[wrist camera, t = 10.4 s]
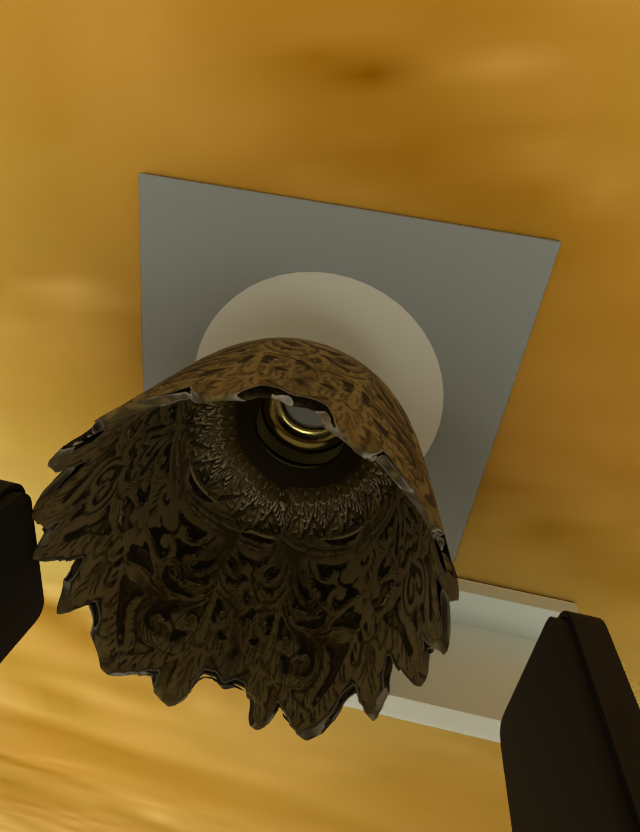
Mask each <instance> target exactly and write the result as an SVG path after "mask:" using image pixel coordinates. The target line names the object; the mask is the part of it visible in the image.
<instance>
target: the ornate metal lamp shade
mask: <svg viewBox="0 0 640 832" xmlns="http://www.w3.org/2000/svg"><path fill="white" fill-rule="evenodd" d="M285 404H286V405H288V406H291V407H298V408H305V409H309V410H311V411H313V412H316V414H318V415H319V417H320V418H321V419H322V421H321V422H322V423H323V424H324V425H325V426H323V427H319V428H308V427H304V426H302V425H299V424H298V423H296V422H295V421H294V420H293V419H292V418H291V417H290V416H289V415H288V413H287V411H286V408H285ZM48 466H49V467H50V468H52V469H53V470H54V471H55V472H61V471H62V472H61V473H60V474H59V475H58V476H57V477H56V478H55V479H54V480H53V482H52V483H51V484H50V485H49V486H48V487H47V488H46V489H45V490H44V491H43V492H42V494H41V495H40V497H39V499H38V501H37V502H36V504H35V506H34V509H33V512H32V520H35V521H36V522H37V524H41V525H42V526H43V529H42V530H43V531H44V534H43V536H42V538H41V540H40V542H39V543H38V545H37V547H36V549H35V551H34V554H33V556H32V558H33V560H35V561H44V562H47V561H55V560H59V561H63V560H66V562H67V561H72V560H75V561H74V563H73V565H72V566H71V569H70V572H69V573H68V575H67V576H66V578H64V580H63V588H62V593H61V596H60V599H59V602H58V606H57V614H64V613H68V612H71V611H73V610H75V609H78V608H81V607H83V606H86V605H89V608H90V610H91V613H92V617H93V625H92V629H91V633H90V634H91V637H92V640H93V642H94V645H95V648H96V650H97V654H98V657H99V662H100V667H101V669H102V670H103V671H104V672H105V673H106V674H108V675H111V676H125V675H136V674H138V675H139V676H142V675H147V676H152V677H151V678H152V682H153V688H154V693H155V694H156V695H157V696H158V698H159V699H160V700H161V701H162V702H164V703H165V704H166V705H167V706H174V705H176V704H178V703H180V702H182V701H183V700H184V699H185V698H186V697H187V696H188V694H189V693H190V692H191V690H192V688H193V687H194V685H195V684H196V683H197V682H198V681H199V680H201V679H203V678H210V679H213V680H214V681H215V682H218V684H219V685H220V686H221V688H223V689H230V688H234V687H236V688H238V689H240V690H243V689H241V688H240V687H238V686H236V685H234V684H237V685H239V686H241V687H244V688H245V689H246V695H247V698H248V699H250V710H249V724H250V726H251V727H252V728H254V729H255V730H260V729H262V728H263V727H265V726H266V725H268V724H269V723H270V721H271V720H272V719H273V717H274V715H275V714H276V713H277V711H278V708H279V707H280V708H281V709H282V710H283V711H284V713H285V715H286V716H285V715H284V714H283V717H284V718H285V719H286V720H287V721H288V722H289V723H290V724H289V725H290V726H291V727H292V728H293V729H294V730H295V732H296V734H297V735H298V736H300V737H301V738H303V739H304V740H310V739H312V738H314V737H316V736H318V735H320V734H322V733H323V732H324V731H325V730H326V729H327V728H328V727H329V726H330V724H331V723H332V722H333V721H334V720H335V719H336V717H337V716H338V714H339V713H340V711H341V709H342V707H343V705H344V703H345V702H346V701H347V700H348V698H350V697H351V696H353V695H354V694H357V697H358V702H359V703H360V704H361V705H362V707H363V710H364V712H365V713H366V714H367V715H368V716H369V717H370V718H371V719H372V720H373V721H374V720H375V719H376V718H377V717H378V715H379V713H380V711H381V710H382V708H383V705H384V702H385V700H386V698H387V697H388V695H389V693H390V677H391V672H392V669H393V663H394V665H395V668H396V669H397V670H398V671H400V670H402V672H403V674H404V675H405V676H406V677H407V678H408V679H409V681H410V682H411V683H412V684H413V685H415V686H418V687H420V686H422V685H423V683H424V682H425V681H426V678H427V675H428V671H429V659H430V654H431V653H433V652H434V649H436V650H438V651H440V652H441V653H442V654H443V655H445V653H446V652H447V650H448V647H449V642H450V632H451V619H450V602H452V601H458V600H459V585H458V579H457V575H456V572H455V569H454V566H453V563H452V560H451V557H450V553H449V549H448V545H447V541H446V537H445V534H444V530H443V526H442V522H441V518H440V514H439V510H438V507H437V503H436V499H435V495H434V492H433V488H432V484H431V481H430V477H429V474H428V470H427V467H426V463H425V460H424V457H423V453H422V450H421V447H420V444H419V441H418V438H417V436H416V434H415V432H414V429H413V427H412V425H411V423H410V420H409V418H408V416H407V414H406V413H405V411H404V409H403V408H402V406H401V404H400V403H399V401H398V400H397V398H396V397H395V396H394V394H393V393H392V392H391V390H390V389H389V388H388V387H387V385H386V384H385V383H384V382H383V381H382V380H381V379H380V378H379V377H378V376H377V375H376V374H375V373H374V372H372V371H371V370H370V369H369V368H368V367H366V366H365V365H364V364H362V363H361V362H359V361H358V360H356V359H355V358H353V357H351V356H349V355H348V354H346V353H344V352H342V351H340V350H338V349H335V348H332V347H330V346H327V345H325V344H321V343H317V342H314V341H310V340H304V339H298V338H284V337H278V338H264V339H258V340H253V341H247V342H242V343H239V344H236V345H232V346H229V347H227V348H224V349H221V350H219V351H217V352H214V353H212V354H210V355H208V356H205V357H203V358H201V359H200V360H198V361H196V362H194V363H192V364H190V365H189V366H187V367H185V368H183V369H182V370H180V371H178V372H176V373H175V374H173V375H171V376H170V377H168V378H166V379H165V380H163V381H161V382H160V383H158V384H156V385H155V386H153V387H151V388H150V389H148V390H146V391H145V392H143V393H142V394H140V395H138V396H137V397H135V398H133V399H132V400H130V401H128V402H127V403H125V404H124V405H122V406H120V407H118V408H116V409H114V410H112V411H110V412H108V413H107V414H105V415H103V416H101V417H100V418H98V419H97V420H95V424H94V425H93V427H92V428H91V429H90V430H88V431H87V432H85V433H84V434H83V435H81V436H79V437H78V438H76V439H74V440H72V441H71V442H69V443H68V444H67V445H65V446H63V447H62V448H61V449H60V450H59V451H58V452H57V453H56V454H55V455H54V456H53V457H52V458H51V459H50V460H49V462H48ZM449 601H450V602H449ZM203 674H206V675H209V676H212V677H215V678H216V679H215V678H212V677H202V678H200V677H201V676H202V675H203ZM199 678H200V679H199ZM243 691H244V690H243ZM286 717H287V718H286Z"/></svg>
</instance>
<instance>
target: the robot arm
mask: <svg viewBox="0 0 640 832" xmlns="http://www.w3.org/2000/svg"><path fill="white" fill-rule="evenodd" d="M32 512H33V509H32V501H31V498H30V496H29V495H27V494H26V493H25V490H24V488H23V487H22V485H20V484H17V483H13V482H8V481H4V480H0V663H1V662H2V660H3V659H4V658H5V657H6V656H7V655H8V653H9V652H10V651H11V650H12V649H13V648H14V646H15V645H16V644H17V643H18V642H19V641H20V639H21V638H22V637H23V636H24V635H25V634H26V632H27V631H28V630H29V629H30V628H31V627H32V625H33V624H34V623H35V622H36V620H37V619H38V618H39V616H40V614H41V612H42V609H43V605H44V596H43V588H42V580H41V572H40V564H39V561H35V560H33V558H32V556H33V554H34V551H35V549H36V547H37V540H36V533H35V525H34V520H32ZM500 744H501V751H502V758H503V766H504V773H505V780H506V788H507V795H508V803H509V810H510V817H511V825H512V832H640V709H639V706H638V704H637V701H636V699H635V696H634V694H633V691H632V689H631V686H630V684H629V681H628V679H627V676H626V674H625V671H624V669H623V666H622V664H621V661H620V659H619V656H618V654H617V651H616V649H615V646H614V644H613V641H612V639H611V636H610V634H609V631H608V629H607V627H606V625H605V623H604V621H603V620H601V619H600V618H596V617H592V616H588V615H583V614H579V613H575V612H570V611H562V612H561V613H560V614H559V616H558V618H557V617H551V616H550V617H549V618H548V619H547V621H546V623H545V625H544V627H543V629H542V631H541V634H540V636H539V638H538V640H537V642H536V644H535V647H534V649H533V651H532V653H531V655H530V657H529V660H528V662H527V664H526V666H525V668H524V670H523V673H522V675H521V677H520V679H519V681H518V684H517V686H516V688H515V690H514V692H513V694H512V697H511V699H510V701H509V703H508V705H507V707H506V710H505V712H504V714H503V716H502V719H501V724H500Z"/></svg>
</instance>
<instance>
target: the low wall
mask: <svg viewBox="0 0 640 832" xmlns="http://www.w3.org/2000/svg"><path fill="white" fill-rule="evenodd" d="M457 579H458V585H459V600H458V601H452V602H450V601H449V602H450V619H451V632H450V642H449V647H448V650H447V652H446V653H445V655H443V654H442V653H441V652H440V651H438V650H436V649H434V652H433V653H431V654H430V659H429V671H428V675H427V678H426V681H425V682H424V683H423V685H422V686H420V687H418V686H415V685H413V684H412V683H411V682H410V681H409V679H408V678H407V677H406V676H405V675H404V674H403V672H402V670H400V671H398V670H397V669H396V668H395V665H394V663H393V669H392V672H391V677H390V693H389V695H388V697H387V698H386V700H385V702H384V705H383V708H382V710H381V711H380V713H379V714H380V715H384V716H388V717H393V718H397V719H401V720H405V721H409V722H414V723H418V724H422V725H426V726H431V727H435V728H439V729H443V730H447V731H452V732H456V733H460V734H464V735H469V736H473V737H477V738H481V739H485V740H490V741H494V742H498V743H500V724H501V719H502V716H503V714H504V712H505V710H506V707H507V705H508V703H509V701H510V699H511V697H512V694H513V692H514V690H515V688H516V686H517V684H518V681H519V679H520V677H521V675H522V673H523V670H524V668H525V666H526V664H527V662H528V660H529V657H530V655H531V653H532V651H533V649H534V647H535V644H536V642H537V640H538V638H539V636H540V634H541V631H542V629H543V627H544V625H545V623H546V621H547V619H548V618H549V617H550V616H551V617H557V618H558V616H559V614H560V613H561V612H562V611H570V612H575V613H579V611H578V608H577V606H576V603H572V602H567V601H562V600H558V599H553V598H548V597H544V596H539V595H534V594H530V593H525V592H520V591H516V590H511V589H506V588H502V587H497V586H492V585H488V584H483V583H479V582H474V581H469V580H465V579H460V578H457ZM343 706H346V707H350V708H355V709H359V710H363V707H362V705H361V704H360V703H359V702H358V697H357V694H354V695H353V696H351V697H350V698H348V700H347V701H346V702H345V703H344V705H343ZM363 711H364V710H363Z"/></svg>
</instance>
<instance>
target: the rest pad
mask: <svg viewBox="0 0 640 832" xmlns="http://www.w3.org/2000/svg"><path fill="white" fill-rule="evenodd" d="M139 215H140V261H141V307H142V354H143V392H145V391H146V390H148V389H150V388H151V387H153V386H155V385H156V384H158V383H160V382H161V381H163V380H165V379H166V378H168V377H170V376H171V375H173V374H175V373H176V372H178V371H180V370H182V369H183V368H185V367H187V366H189V365H190V364H192V363H194V362H196V361H198V360H200V359H201V358H203V357H205V356H208V355H210V354H212V353H214V352H217V351H219V350H221V349H224V348H227V347H229V346H232V345H236V344H239V343H242V342H247V341H253V340H258V339H264V338H278V337H284V338H298V339H304V340H310V341H314V342H317V343H321V344H325V345H327V346H330V347H332V348H335V349H338V350H340V351H342V352H344V353H346V354H348V355H349V356H351V357H353V358H355V359H356V360H358V361H359V362H361V363H362V364H364V365H365V366H366V367H368V368H369V369H370V370H371V371H372V372H374V373H375V374H376V375H377V376H378V377H379V378H380V379H381V380H382V381H383V382H384V383H385V384H386V385H387V387H388V388H389V389H390V390H391V392H392V393H393V394H394V396H395V397H396V398H397V400H398V401H399V403H400V404H401V406H402V408H403V409H404V411H405V413H406V414H407V416H408V418H409V420H410V423H411V425H412V427H413V429H414V432H415V434H416V436H417V438H418V441H419V444H420V447H421V450H422V453H423V457H424V460H425V463H426V467H427V470H428V474H429V477H430V481H431V484H432V488H433V492H434V495H435V499H436V503H437V507H438V510H439V514H440V518H441V522H442V526H443V530H444V534H445V537H446V541H447V545H448V549H449V553H450V557H451V560H452V563H453V562H454V559H455V556H456V553H457V550H458V547H459V544H460V541H461V539H462V536H463V533H464V530H465V527H466V524H467V521H468V518H469V515H470V512H471V509H472V506H473V503H474V500H475V497H476V494H477V491H478V488H479V485H480V482H481V479H482V476H483V473H484V470H485V467H486V464H487V461H488V458H489V455H490V452H491V449H492V446H493V443H494V440H495V438H496V435H497V432H498V429H499V426H500V423H501V420H502V417H503V414H504V411H505V408H506V405H507V402H508V399H509V396H510V393H511V390H512V387H513V384H514V381H515V378H516V375H517V372H518V369H519V366H520V363H521V360H522V357H523V354H524V351H525V348H526V345H527V342H528V339H529V337H530V334H531V331H532V328H533V325H534V322H535V319H536V316H537V313H538V310H539V307H540V304H541V301H542V298H543V295H544V292H545V289H546V286H547V283H548V280H549V277H550V274H551V271H552V268H553V265H554V262H555V259H556V256H557V253H558V250H559V247H560V244H561V242H560V241H558V240H552V239H546V238H540V237H533V236H527V235H521V234H515V233H509V232H503V231H497V230H491V229H484V228H478V227H472V226H466V225H460V224H454V223H448V222H442V221H436V220H429V219H423V218H417V217H411V216H405V215H399V214H393V213H387V212H380V211H374V210H368V209H362V208H356V207H350V206H344V205H338V204H332V203H325V202H319V201H313V200H307V199H301V198H295V197H289V196H283V195H277V194H270V193H264V192H258V191H252V190H246V189H240V188H234V187H228V186H221V185H215V184H209V183H203V182H197V181H191V180H185V179H179V178H173V177H166V176H160V175H154V174H148V173H139ZM285 408H286V411H287V413H288V415H289V416H290V417H291V418H292V419H293V420H294V421H295V422H296V423H298V424H299V425H302V426H304V427H308V428H319V427H323V426H325V425H324V424H323V423H322V422H321V421H322V419H321V418H320V417H319V415H318V414H316V412H313V411H311V410H309V409H305V408H298V407H291V406H288V405H286V404H285Z"/></svg>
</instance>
